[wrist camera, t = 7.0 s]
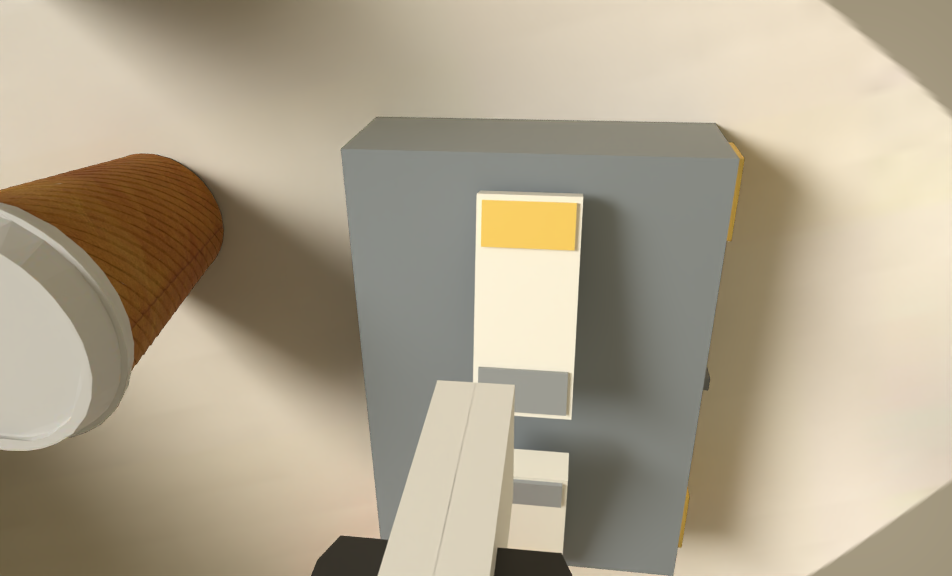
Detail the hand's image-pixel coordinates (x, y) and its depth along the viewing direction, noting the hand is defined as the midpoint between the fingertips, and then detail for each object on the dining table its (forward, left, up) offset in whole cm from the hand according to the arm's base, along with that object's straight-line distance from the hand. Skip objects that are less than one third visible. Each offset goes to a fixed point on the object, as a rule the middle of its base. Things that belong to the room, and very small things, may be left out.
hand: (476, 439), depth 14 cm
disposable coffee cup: (-18, -3, -19) cm, 26 cm away
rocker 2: (0, -13, -11) cm, 17 cm away
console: (0, -8, -18) cm, 20 cm away
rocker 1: (0, -3, -11) cm, 12 cm away
